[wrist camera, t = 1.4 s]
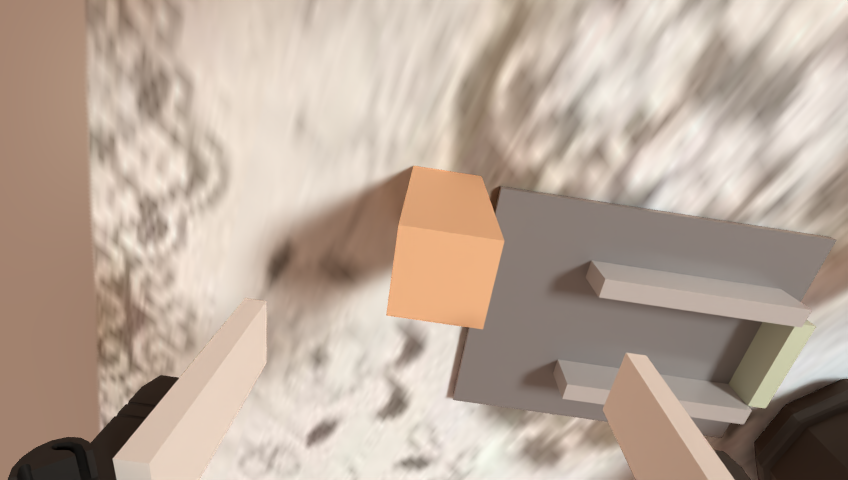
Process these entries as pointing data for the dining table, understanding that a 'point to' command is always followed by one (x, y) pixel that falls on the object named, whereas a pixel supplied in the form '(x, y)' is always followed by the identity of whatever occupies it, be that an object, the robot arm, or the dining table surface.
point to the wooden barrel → (807, 438)
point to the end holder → (638, 308)
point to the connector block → (445, 250)
